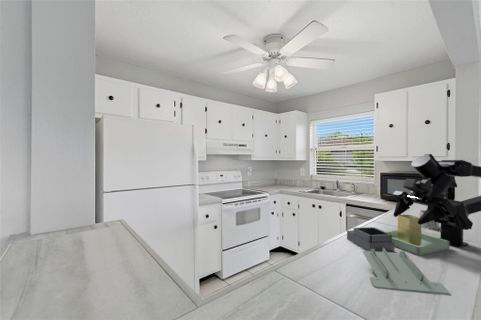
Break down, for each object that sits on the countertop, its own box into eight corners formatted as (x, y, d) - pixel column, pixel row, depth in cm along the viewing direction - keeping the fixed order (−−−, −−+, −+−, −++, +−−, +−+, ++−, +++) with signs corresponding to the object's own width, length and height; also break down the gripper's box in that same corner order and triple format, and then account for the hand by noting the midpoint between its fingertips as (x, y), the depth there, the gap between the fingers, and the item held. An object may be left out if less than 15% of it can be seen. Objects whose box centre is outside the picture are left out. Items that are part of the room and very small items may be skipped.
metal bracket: (354, 242, 60) (413, 246, 57) (352, 259, 61) (409, 264, 59) (378, 285, 46) (457, 292, 44) (374, 306, 48) (450, 314, 45)
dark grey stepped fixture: (368, 238, 78) (368, 224, 78) (394, 251, 67) (394, 235, 67) (346, 238, 77) (347, 225, 77) (370, 252, 66) (370, 236, 66)
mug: (441, 230, 88) (441, 214, 88) (420, 228, 92) (420, 212, 92) (435, 224, 96) (435, 210, 96) (416, 222, 100) (417, 208, 100)
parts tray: (404, 234, 82) (405, 228, 82) (449, 248, 70) (449, 241, 70) (376, 239, 77) (376, 232, 77) (418, 255, 64) (418, 247, 64)
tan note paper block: (408, 239, 75) (409, 214, 75) (421, 244, 71) (421, 218, 71) (397, 240, 75) (397, 214, 75) (409, 245, 70) (409, 218, 70)
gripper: (396, 169, 83) (370, 198, 81) (449, 172, 64) (417, 209, 63) (414, 189, 84) (389, 218, 82) (471, 198, 65) (440, 235, 64)
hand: (405, 219), depth 73 cm, fingers open, 9 cm apart
